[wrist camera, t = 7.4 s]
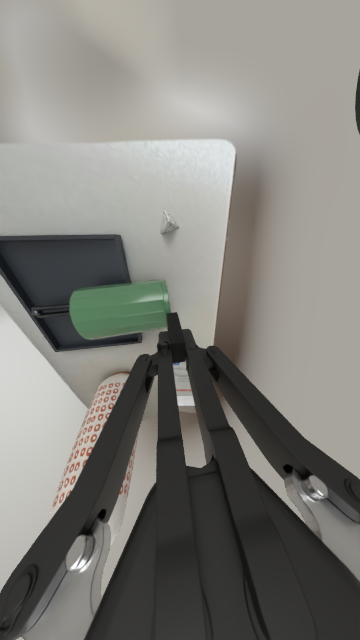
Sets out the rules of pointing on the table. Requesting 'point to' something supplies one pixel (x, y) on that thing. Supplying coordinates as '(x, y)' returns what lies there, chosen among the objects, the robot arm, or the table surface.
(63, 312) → the tongs
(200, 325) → the table surface
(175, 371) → the ink box
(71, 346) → the tray
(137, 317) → the cup
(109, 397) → the vase
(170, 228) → the tetrahedral die
